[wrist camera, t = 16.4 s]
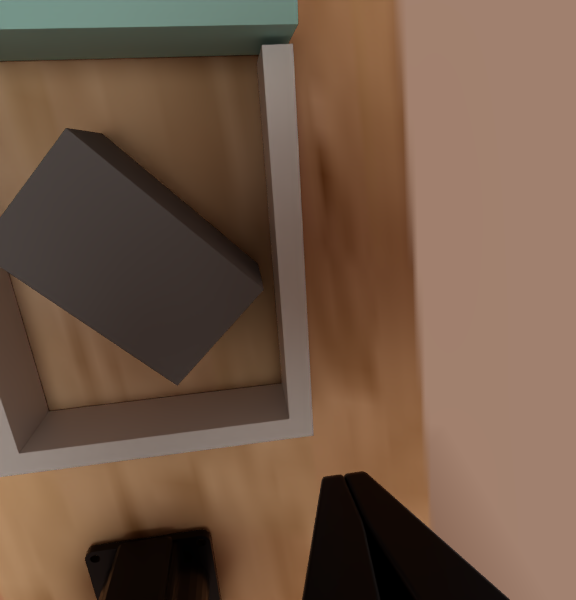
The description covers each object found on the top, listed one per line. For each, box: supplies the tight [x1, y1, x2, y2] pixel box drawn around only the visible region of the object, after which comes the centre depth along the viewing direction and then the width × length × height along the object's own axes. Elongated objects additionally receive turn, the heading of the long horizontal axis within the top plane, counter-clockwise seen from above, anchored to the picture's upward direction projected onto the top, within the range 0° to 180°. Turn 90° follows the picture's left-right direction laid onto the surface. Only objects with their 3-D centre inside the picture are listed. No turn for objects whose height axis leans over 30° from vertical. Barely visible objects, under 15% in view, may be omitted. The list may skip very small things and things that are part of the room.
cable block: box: [0, 128, 264, 385], centre depth 16 cm, size 5×8×4 cm, turn 48°
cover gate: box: [0, 0, 298, 61], centre depth 13 cm, size 1×13×4 cm, turn 92°
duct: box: [0, 44, 314, 477], centre depth 16 cm, size 17×15×4 cm
